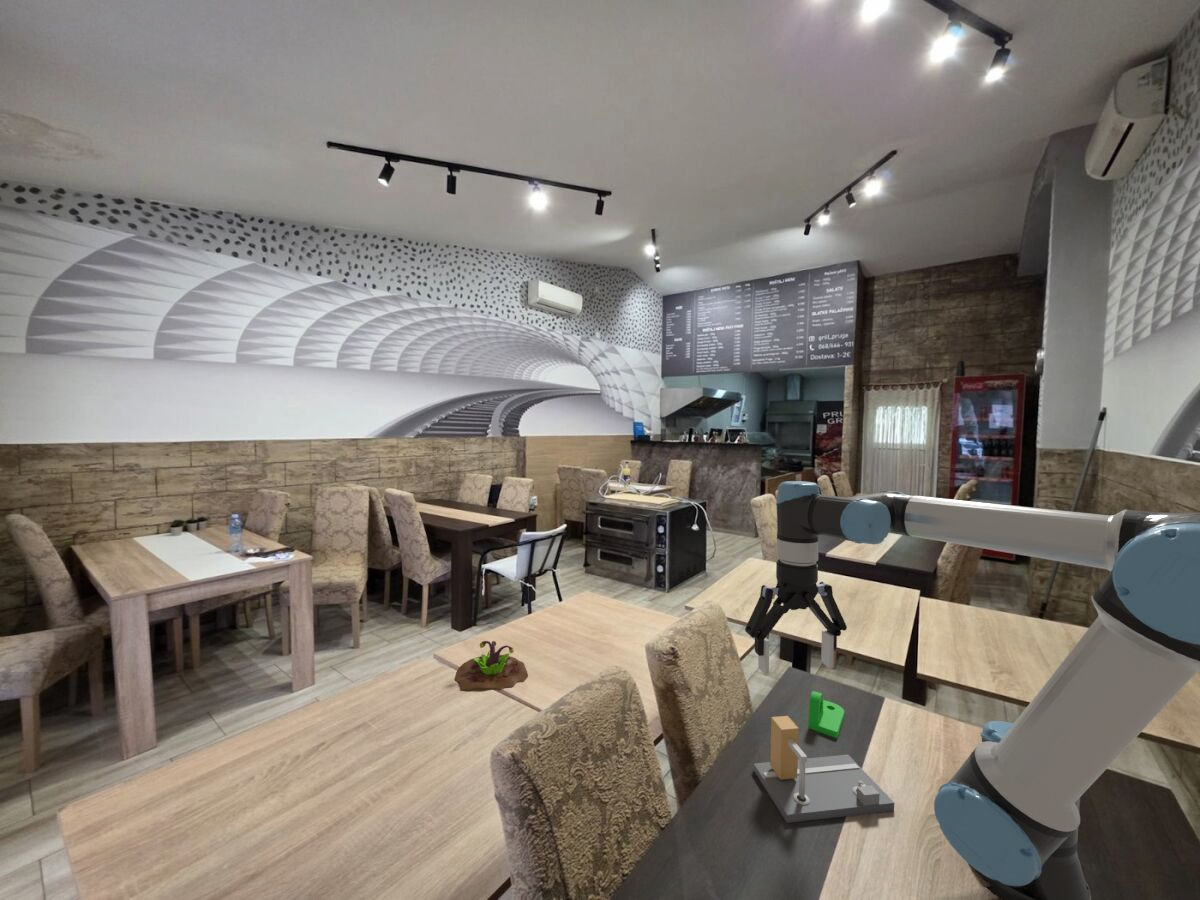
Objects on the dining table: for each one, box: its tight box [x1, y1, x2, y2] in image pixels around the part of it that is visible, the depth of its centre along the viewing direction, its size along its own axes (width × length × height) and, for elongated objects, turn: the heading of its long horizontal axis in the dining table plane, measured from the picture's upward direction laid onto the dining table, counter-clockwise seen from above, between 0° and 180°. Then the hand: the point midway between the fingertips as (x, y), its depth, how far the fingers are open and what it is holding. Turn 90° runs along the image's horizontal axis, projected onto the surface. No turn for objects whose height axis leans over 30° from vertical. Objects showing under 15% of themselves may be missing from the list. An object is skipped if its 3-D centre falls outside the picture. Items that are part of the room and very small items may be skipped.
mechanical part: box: [808, 690, 845, 739], centre depth 114 cm, size 12×6×8 cm, turn 144°
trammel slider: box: [769, 715, 808, 797], centre depth 92 cm, size 9×4×10 cm, turn 8°
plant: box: [454, 640, 529, 692], centre depth 133 cm, size 20×20×11 cm
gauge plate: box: [753, 754, 895, 824], centre depth 93 cm, size 13×21×4 cm, turn 98°
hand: (795, 668), depth 94 cm, fingers open, 13 cm apart
